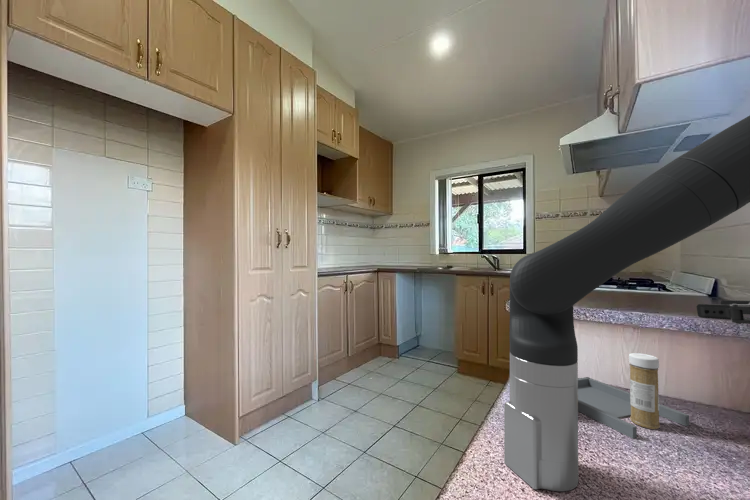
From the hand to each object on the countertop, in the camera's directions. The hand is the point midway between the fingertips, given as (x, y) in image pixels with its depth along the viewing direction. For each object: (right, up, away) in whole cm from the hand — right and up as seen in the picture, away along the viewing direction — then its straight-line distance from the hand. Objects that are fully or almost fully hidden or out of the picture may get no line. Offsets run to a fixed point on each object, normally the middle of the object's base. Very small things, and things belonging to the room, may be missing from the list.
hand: (710, 308), depth 53 cm
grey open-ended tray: (-6, -25, +16) cm, 30 cm away
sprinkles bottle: (-4, -25, +9) cm, 27 cm away
